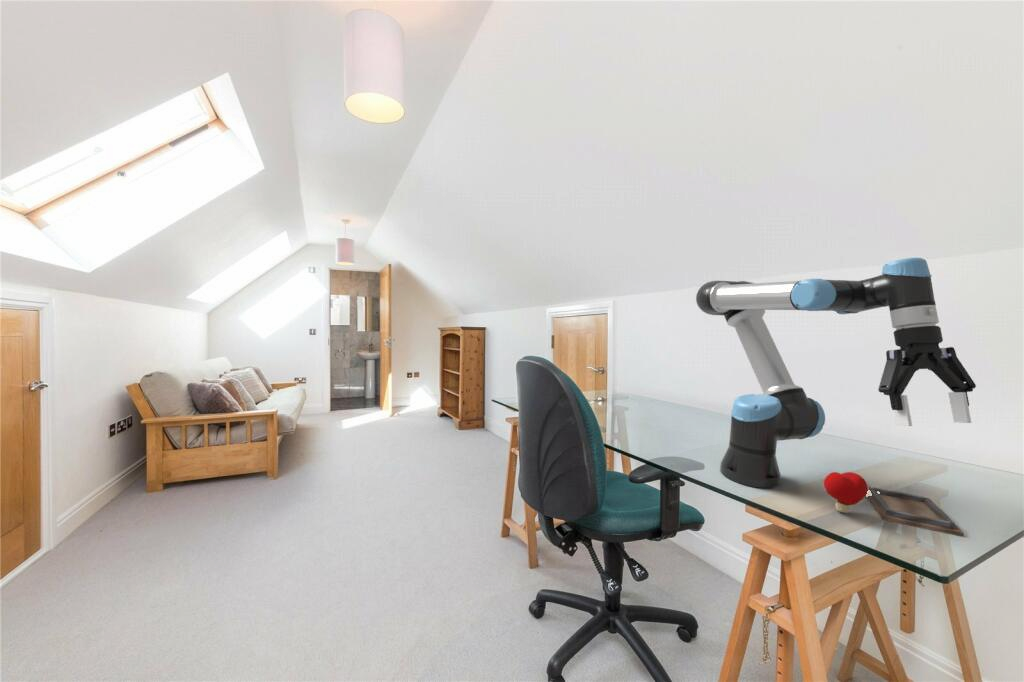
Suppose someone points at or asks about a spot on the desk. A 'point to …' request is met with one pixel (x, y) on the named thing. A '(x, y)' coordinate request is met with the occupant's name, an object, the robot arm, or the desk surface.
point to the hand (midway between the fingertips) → (933, 424)
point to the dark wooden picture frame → (911, 511)
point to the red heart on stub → (845, 489)
